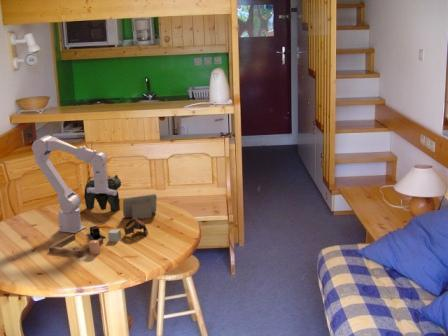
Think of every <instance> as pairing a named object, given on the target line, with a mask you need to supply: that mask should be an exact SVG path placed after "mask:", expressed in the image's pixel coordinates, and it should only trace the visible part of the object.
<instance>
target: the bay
mask: <svg viewBox="0 0 448 336" xmlns="http://www.w3.org/2000/svg"><path fill="white" fill-rule="evenodd" d="M74 240H76V234H75V233H71V234H70V235H68V236H66V237H64V238H62V239H61V240H59V241H57V242H56V243H53V244H52V245H50V246H48V251H49V253H53V254H60V255H65V256H66V255H67V256H71V257H72V256H73V257H76V258H77V257H78V258H82V257H84V256H86V255H87V254H90V250H89V244H87V246H85V247H84V248H82V249H80V250H79V249H72V248H67V247H66V248H65V247H64V246H66V245H68V244H70V243H71V242H72V241H74ZM98 241H99V247H100V246H101V245H103V244H104V238H103V239H101V238H100V239H98Z"/></svg>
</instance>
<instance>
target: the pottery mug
mask: <svg viewBox="0 0 448 336" xmlns="http://www.w3.org/2000/svg"><path fill="white" fill-rule="evenodd" d="M143 220H144V219H141V218H140V217H138V218H137V219H136V218H134V219H132V218H131V219H129V220H128V221H127V222H126V223H125V224H124V226H123V230H124V234H125V235H126V236H128V235H130V234H135V230H142V231H143V233H144V234H145V236H146V237H147V236H148V235H149V232H148V228H147V226H146V225H145V223H144V221H143ZM131 224H132V225H131ZM130 225H131V226H130ZM129 226H130V227H129Z"/></svg>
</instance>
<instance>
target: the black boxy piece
mask: <svg viewBox="0 0 448 336" xmlns="http://www.w3.org/2000/svg"><path fill="white" fill-rule="evenodd" d="M85 236H86V237H88V238H89V239H90V241H92V240H98V239H100V238H101V239H103V240H104V239H106V237H105V236H104V235H102V234H101V233H100V228H99V226H97V225H94V226H89V233H86V234H85Z"/></svg>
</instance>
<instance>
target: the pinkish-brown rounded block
mask: <svg viewBox="0 0 448 336" xmlns="http://www.w3.org/2000/svg"><path fill="white" fill-rule="evenodd" d="M88 245H89V250H90V252H89V255H90V256H98V255H100V253H101V251H100V246H99V241H98V240H90V241H88Z"/></svg>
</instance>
